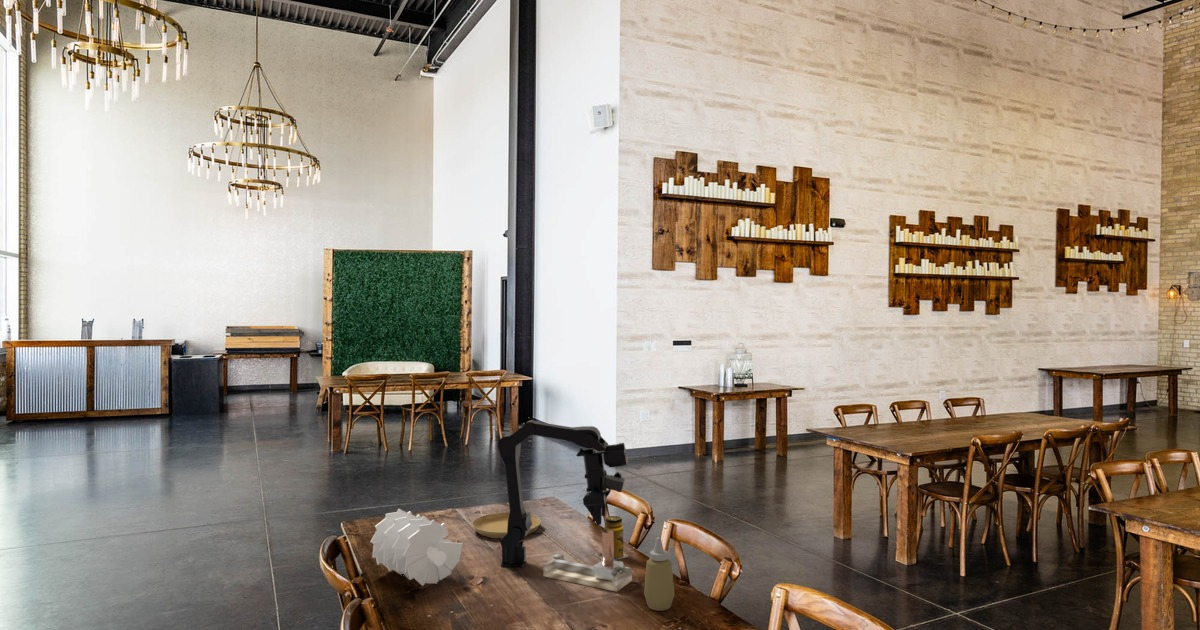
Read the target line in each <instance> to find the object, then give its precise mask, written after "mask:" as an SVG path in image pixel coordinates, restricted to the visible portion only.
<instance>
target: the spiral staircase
mask: <svg viewBox="0 0 1200 630" xmlns="http://www.w3.org/2000/svg"><path fill="white" fill-rule="evenodd" d="M384 515H385V517H384V518H383V519H382V520H381V521H380V522H378V523H377V524H376V525H374V527H375V532H374V534H373V536H372V537H371V539H370V541H369V543H371V544H372V545H373V546H372V555H371V556H372V558H373V559H374V558H375V560H376V561H375V562H376V565H378V566H379V565H380V564H382V565H383V566H385V567H386V568H387V570H388V572H392V571H395V573H397V574H399V575H401V574H404V575H403V576H404V577H406V579H408V580H410V581H411V580H413V579H415V581H416V582H418V584H420V585H421V586H422V587H424V585H425V584H438V583H439V581H442V580H443V579H445V578H447V577H448V576H450V575H452V574H453V573H452V571H453V570H454V568H455V567H456V566H457V564H458V563H459V561H460V560H461V557H460V556H461V553H462V549H463V545H464V543H463V542H452V540H450V539H447V536H448V535H449V532H448V529H447V527H446V524H445V522H443V523H441V524H440V523H438V522H437V521H435V519H432V520H430V519H429V518H427V517H425V516H424V515H422V516H421V515H420V514H419V513H418V514H417V515H416V516H415V515H413V514H412V512H411V511H410V510H409V511H405V510H403V509H401V508H398V509H397V511H396V512H388V513H385V514H384ZM445 537H446V539H445ZM401 576H402V575H401ZM437 582H438V583H437Z"/></svg>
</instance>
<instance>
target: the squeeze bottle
mask: <svg viewBox="0 0 1200 630" xmlns="http://www.w3.org/2000/svg"><path fill="white" fill-rule="evenodd" d="M662 541H663V540H662V538H661V537H656V538H655V543H654V548H653V549H652V550H651V551H649V559H648V560H646V566H645V578H644V589H643V590H644V591H643V595H644V597H645V602H646V603H647V607H648V608H649V609H651V610H654V611H658V612H659V611H661V612H662V611H666V610H669V609H670V608H671V607H672V603H673V601H674V597H675V586H674V575H673V567H672V561H671V560H670V559H669V558H668V557H669V556H668V551H667V550H666V549H664V546H663V542H662Z"/></svg>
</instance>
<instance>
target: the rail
mask: <svg viewBox="0 0 1200 630" xmlns="http://www.w3.org/2000/svg"><path fill="white" fill-rule="evenodd" d="M542 565H543V566H542V568H543V572H542V573H543V575H542V576H543V577H545V578H546V577H547V578H550V579H556V580H559V581H560V580H561V581H565V582H569V583H573V584H577V585H578V584H579V585H583V586H588V587H593V588H599V589H603V590H607V591H612V592H619V591H620V590H621V589H622V588H624V587H626V585H628V584H630V583H631V582H632V581H633V574H632V573H633V569H632V568H631V567H629V566H623V568H621V571H622V572H621V571H617V572H616V573H615V577H613V578H612V581H609V580H604V579H600V578H595V572H593V566H594V565H589V564H584V563H579V562H574V561H569V560H565V555H563V554H561V553H559V554H557V553H556V554H553V557H552V559H550V560H548V561H547V562H544V563H543V564H542Z"/></svg>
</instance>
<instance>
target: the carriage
mask: <svg viewBox="0 0 1200 630" xmlns="http://www.w3.org/2000/svg"><path fill="white" fill-rule="evenodd" d="M601 536H602V537H601V541H602V542H601V544H602V545H601V547H602V548H601V549H602V550H601V551H602V552H601V553H602V559H601V561H599V562H597V563H595V564H594V565H592V566H593V572H595V578H600V579H604V580H609V581H612V578H613V577H615V573H616V572H617V571H621V568H623V567H624V561H621V560H619V561H618V560H614V541H613V531H611V530H605V531H604V530H603V531H601ZM621 572H622V571H621Z"/></svg>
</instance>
